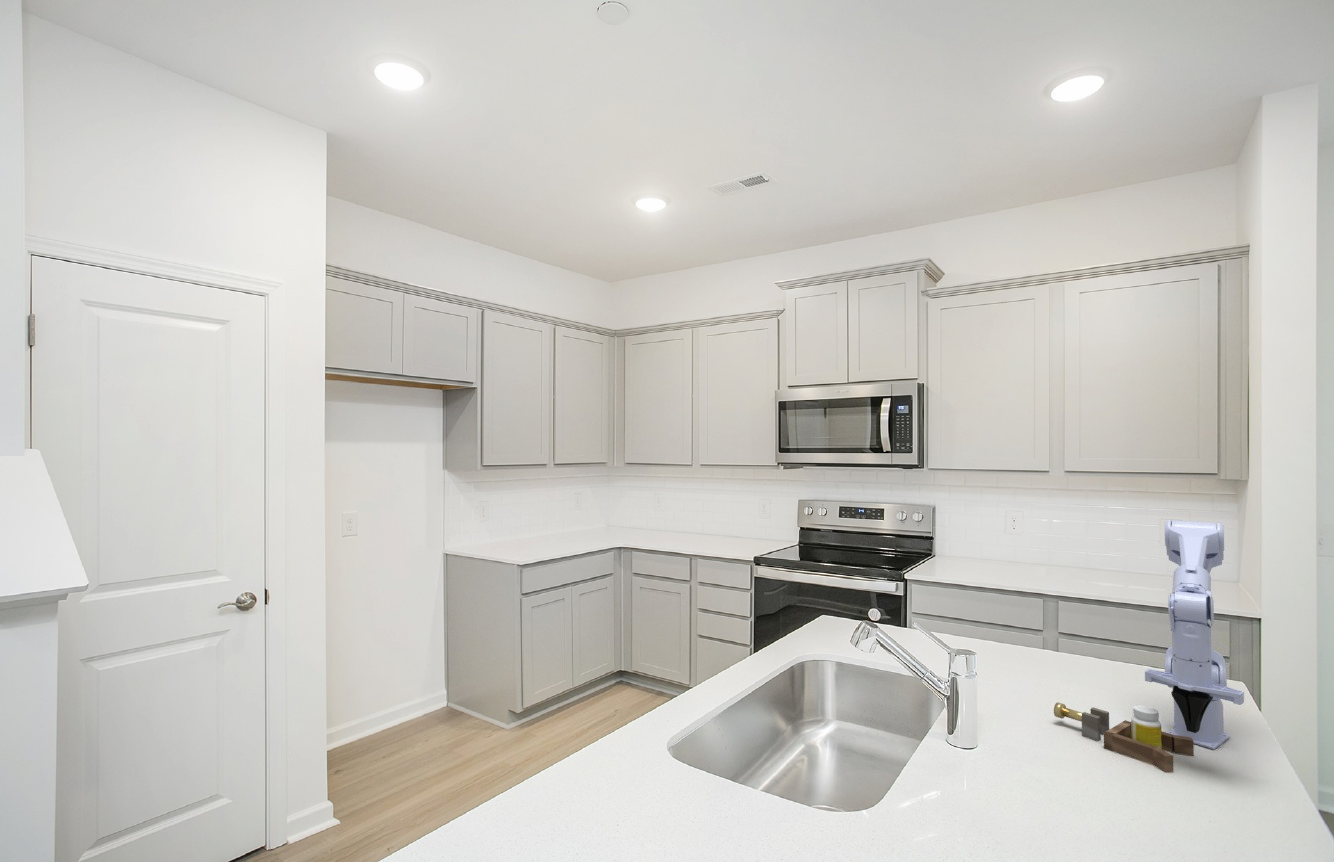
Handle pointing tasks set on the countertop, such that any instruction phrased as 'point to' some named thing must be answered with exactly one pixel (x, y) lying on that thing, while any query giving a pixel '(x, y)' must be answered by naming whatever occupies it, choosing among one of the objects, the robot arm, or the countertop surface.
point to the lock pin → (1066, 712)
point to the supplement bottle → (1146, 726)
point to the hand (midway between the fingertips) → (1193, 730)
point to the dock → (1134, 741)
